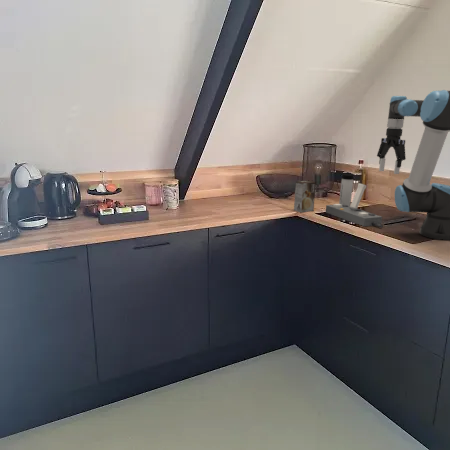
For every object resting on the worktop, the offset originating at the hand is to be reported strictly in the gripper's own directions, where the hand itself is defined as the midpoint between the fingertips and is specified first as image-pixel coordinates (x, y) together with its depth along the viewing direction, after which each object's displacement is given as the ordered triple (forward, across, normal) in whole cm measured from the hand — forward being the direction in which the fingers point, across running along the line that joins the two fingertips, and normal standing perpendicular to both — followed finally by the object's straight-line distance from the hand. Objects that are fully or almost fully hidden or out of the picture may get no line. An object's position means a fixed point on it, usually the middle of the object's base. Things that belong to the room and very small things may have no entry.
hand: (388, 172), depth 219 cm
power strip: (+24, -1, +19) cm, 30 cm away
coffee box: (+24, +24, +34) cm, 48 cm away
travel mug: (+24, +24, +6) cm, 34 cm away
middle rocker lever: (+18, +2, +19) cm, 26 cm away
